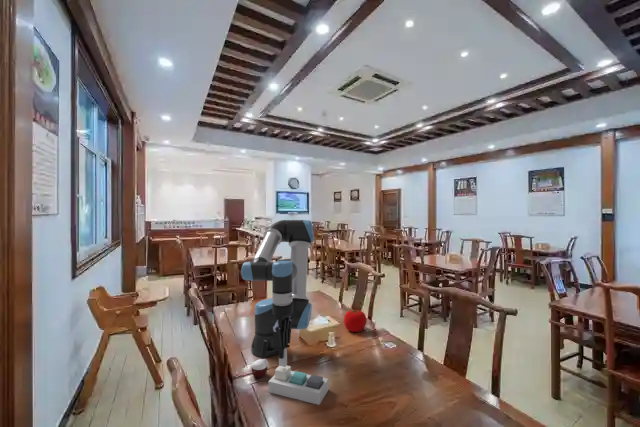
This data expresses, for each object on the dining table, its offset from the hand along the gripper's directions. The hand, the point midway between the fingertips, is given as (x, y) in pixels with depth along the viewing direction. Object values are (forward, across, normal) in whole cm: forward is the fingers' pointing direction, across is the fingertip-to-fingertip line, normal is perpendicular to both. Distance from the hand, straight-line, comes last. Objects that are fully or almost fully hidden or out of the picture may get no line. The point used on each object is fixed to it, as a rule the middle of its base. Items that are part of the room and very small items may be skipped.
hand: (282, 365), depth 113 cm
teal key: (+7, 0, -6) cm, 9 cm away
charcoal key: (+7, 0, -13) cm, 14 cm away
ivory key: (+5, 0, 0) cm, 5 cm away
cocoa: (+9, +4, +13) cm, 16 cm away
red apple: (+8, +61, -11) cm, 63 cm away
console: (+8, 0, -6) cm, 10 cm away
